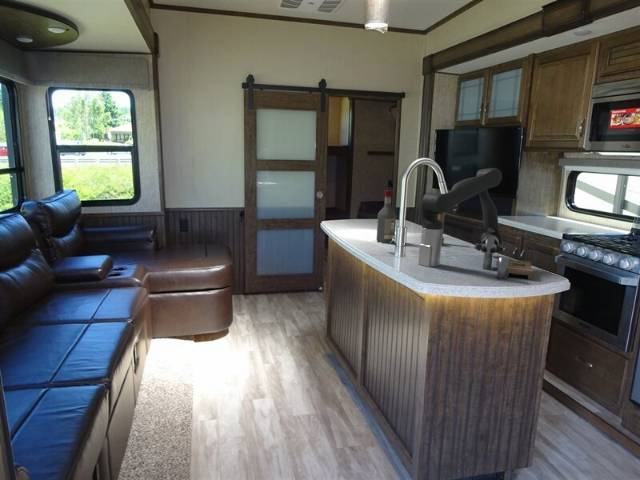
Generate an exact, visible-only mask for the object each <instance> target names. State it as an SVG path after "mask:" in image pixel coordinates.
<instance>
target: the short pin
mask: <svg viewBox="0 0 640 480" xmlns="http://www.w3.org/2000/svg"><path fill="white" fill-rule="evenodd" d="M508 260H509V257H506V256H499V257H498V263H497V272H496V280H500V281H501V280H503V281H505V280H507V277H506V274H507V265H508Z"/></svg>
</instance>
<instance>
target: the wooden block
mask: <svg viewBox="0 0 640 480" xmlns="http://www.w3.org/2000/svg"><path fill="white" fill-rule="evenodd" d="M445 215H446V212H445V213H443V214H437V219H438V220H440V221H441V222H442V223H443V229H444V226H445ZM444 240H445V238H444V231H443V232H442V243H441V245H443V244H444Z"/></svg>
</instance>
